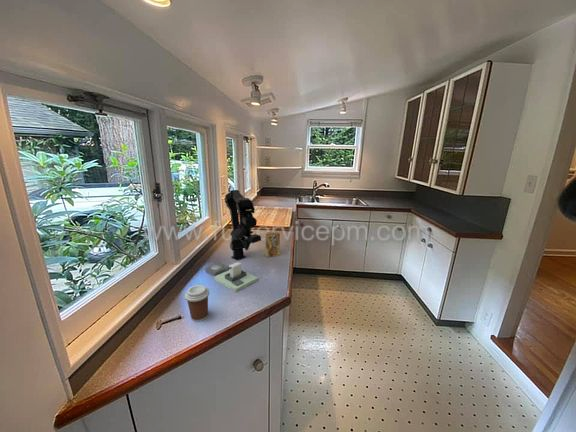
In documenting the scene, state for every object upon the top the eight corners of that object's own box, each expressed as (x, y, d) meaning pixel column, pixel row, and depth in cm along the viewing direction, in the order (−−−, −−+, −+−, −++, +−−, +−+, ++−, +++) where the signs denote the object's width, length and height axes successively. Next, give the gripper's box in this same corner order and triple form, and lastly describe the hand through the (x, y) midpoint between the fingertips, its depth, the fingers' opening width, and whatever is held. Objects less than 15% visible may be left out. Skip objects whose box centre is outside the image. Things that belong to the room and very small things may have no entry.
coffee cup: (214, 318, 95) (211, 291, 92) (190, 327, 90) (186, 298, 87) (208, 306, 102) (205, 280, 99) (185, 313, 98) (182, 287, 95)
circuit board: (214, 279, 124) (213, 273, 123) (236, 269, 135) (235, 263, 134) (235, 291, 113) (235, 285, 112) (257, 280, 123) (257, 274, 122)
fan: (205, 271, 132) (205, 267, 131) (219, 266, 139) (219, 261, 138) (215, 277, 126) (214, 272, 126) (229, 271, 133) (228, 266, 132)
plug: (228, 282, 118) (227, 269, 117) (225, 280, 120) (224, 267, 118) (242, 275, 125) (241, 263, 123) (238, 273, 127) (238, 261, 125)
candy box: (278, 253, 156) (277, 230, 153) (280, 255, 153) (279, 232, 149) (264, 255, 154) (264, 232, 150) (266, 257, 150) (265, 234, 146)
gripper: (222, 222, 128) (224, 249, 132) (244, 230, 116) (245, 259, 120) (239, 218, 136) (240, 244, 140) (261, 225, 124) (262, 253, 128)
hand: (246, 250), depth 132 cm, fingers closed
